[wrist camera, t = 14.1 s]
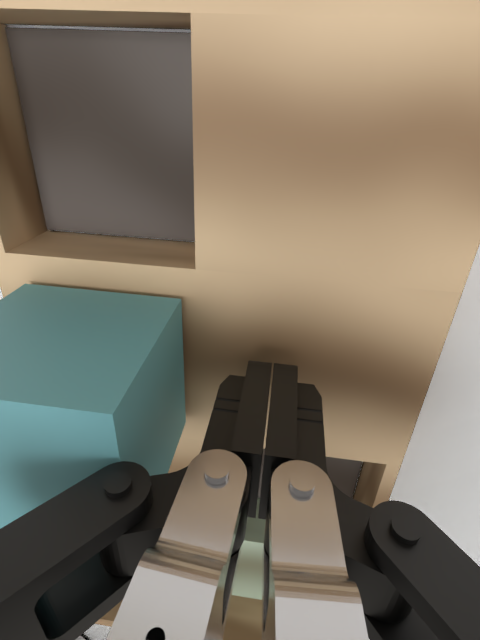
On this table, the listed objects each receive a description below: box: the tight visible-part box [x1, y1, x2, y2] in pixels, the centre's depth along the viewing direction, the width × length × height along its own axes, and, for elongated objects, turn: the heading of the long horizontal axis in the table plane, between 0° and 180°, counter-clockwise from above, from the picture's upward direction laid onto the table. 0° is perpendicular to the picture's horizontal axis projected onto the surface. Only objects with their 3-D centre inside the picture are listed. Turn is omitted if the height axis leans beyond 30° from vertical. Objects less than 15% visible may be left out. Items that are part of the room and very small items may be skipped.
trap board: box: [0, 0, 480, 640], centre depth 14 cm, size 29×14×4 cm, turn 178°
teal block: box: [0, 284, 186, 529], centre depth 11 cm, size 5×5×5 cm
